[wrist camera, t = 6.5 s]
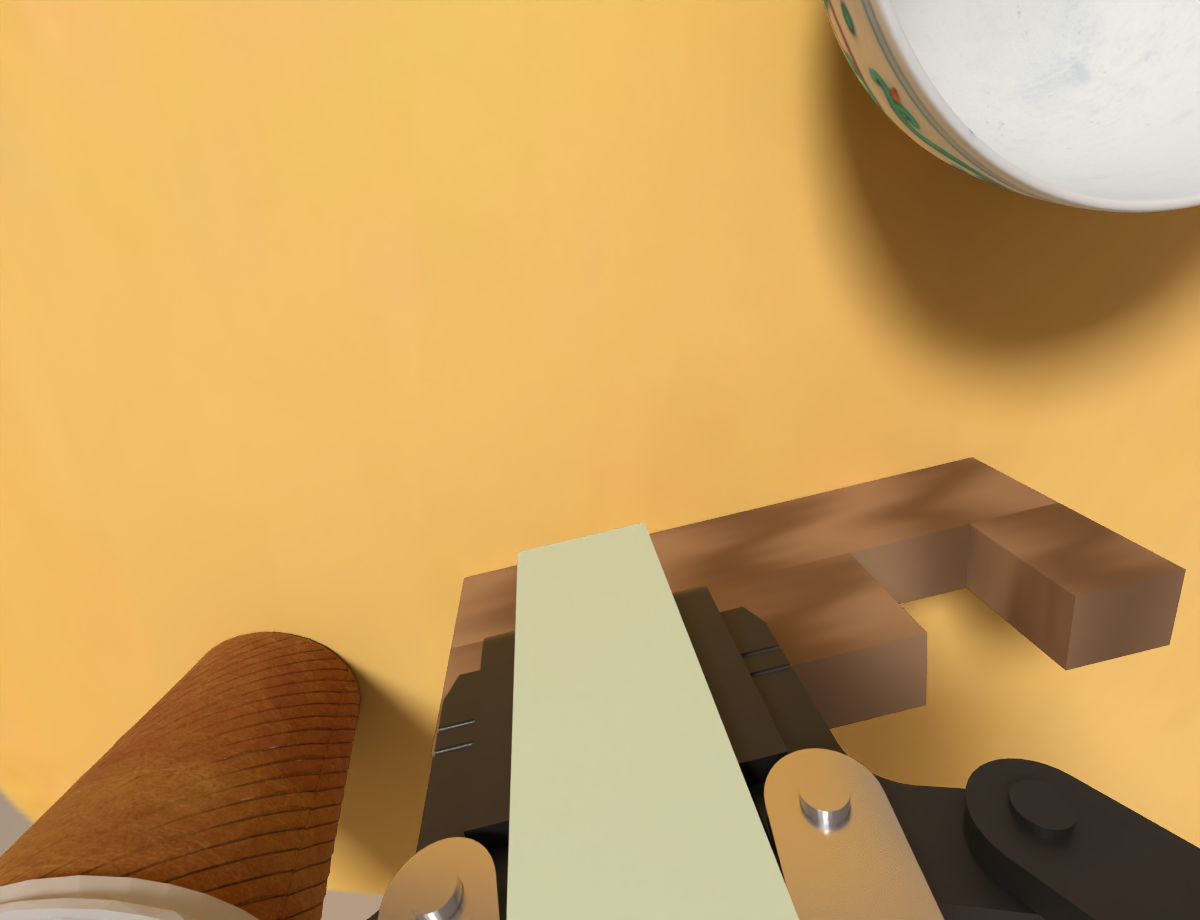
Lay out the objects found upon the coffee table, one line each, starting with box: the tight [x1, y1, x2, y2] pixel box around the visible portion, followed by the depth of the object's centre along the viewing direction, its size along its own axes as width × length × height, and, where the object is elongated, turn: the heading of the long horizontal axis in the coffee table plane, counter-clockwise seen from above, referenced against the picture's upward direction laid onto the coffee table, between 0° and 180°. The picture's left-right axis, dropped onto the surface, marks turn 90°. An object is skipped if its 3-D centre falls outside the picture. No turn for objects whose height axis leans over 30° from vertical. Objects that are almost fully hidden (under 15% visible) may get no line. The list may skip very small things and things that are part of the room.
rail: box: [431, 457, 1186, 757], centre depth 19 cm, size 20×2×8 cm, turn 101°
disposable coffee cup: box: [0, 632, 361, 920], centre depth 18 cm, size 10×10×12 cm
